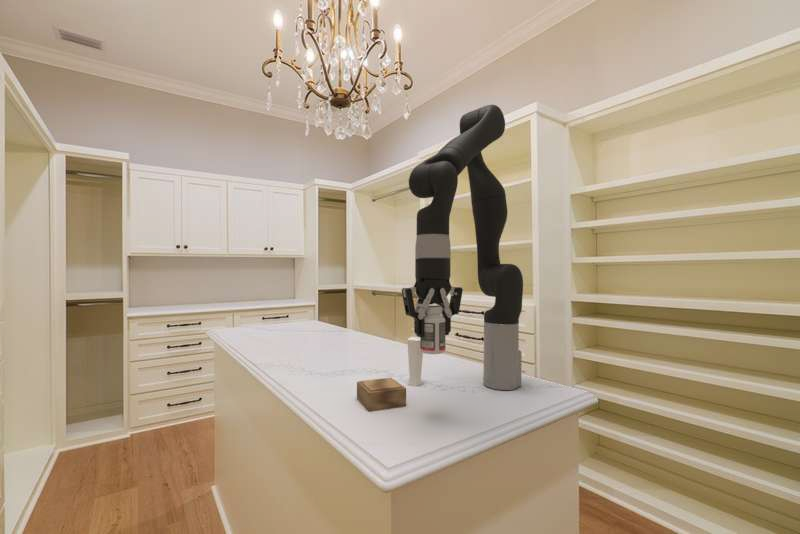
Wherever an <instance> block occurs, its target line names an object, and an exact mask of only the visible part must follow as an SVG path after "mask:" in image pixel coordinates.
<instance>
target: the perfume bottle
mask: <svg viewBox="0 0 800 534" xmlns="http://www.w3.org/2000/svg"><path fill="white" fill-rule="evenodd" d="M411 330H412V331H411V336H410V337H409V338H407V351H408V352H407V354H408V355H407V356H408V373H409V375H408V377H409V378H408V384H407V385H410V386H415V387H417V386H420V385H421V386H422V385H423V382H422V368H423V356H424V353H422V352H421V350H420V337H418V336H417V335H416V334H415V332H414V328H411Z"/></svg>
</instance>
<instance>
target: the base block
mask: <svg viewBox="0 0 800 534" xmlns="http://www.w3.org/2000/svg"><path fill="white" fill-rule="evenodd" d="M356 400H358V401H359V403H360V404H361V405H362V406H363V407H364V408H365V409H366V410H367V411H368V412H373V411H380V410H386V409H388V410H389V409H394V408H395V409H396V408H402V407H406V406H407V388H406V387H405V386H404V385H402V384H401V383H399V382H398V381H397V380H395V379H394V378H392V377H385V378H375V379H374V378H373V379H366V380H360V381H357V382H356Z"/></svg>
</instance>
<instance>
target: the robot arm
mask: <svg viewBox="0 0 800 534" xmlns="http://www.w3.org/2000/svg"><path fill="white" fill-rule="evenodd" d="M460 117H461V118H460V120H459V133H460V134H458V135H457V136H455V137H454V138H453V139H451V140H450V141H448V142H447V143H446V144H445V145H444V146H443V147H442V148H441V149H440V150H439V151H438V152H437V153H436V154H434V155H432V156H430V157H428V158H427V159H425V160H423V161H422V162H420V163H419V164H417V165H416V166H414V168H413V169H412V171H411V172H410V175H409V178H408V187H409V190H410V192H411V193H412V195H414V196H415V197H417V198H420V199H429V198H432V200H431V203H429V205H427V206H425V207H423V208H420V209H419V210H418V211H417V213H416V239H415V240H416V241H415V246H414V247H415V249H414V253H415V254H414V256H415V258H414V259H415V262H414V263H415V265H414V267H415V269H414V273H415V274H414V275H415V282H414V285H413V286H411V287H403V288H402V289H401V295H402V301H403V306H404V312H405V315H406V316H408V317H411V318H413V320H414V321H413V322H414V328H413V329H414V332H415V334H416V335H417V336H418V337H424V320H423V317H424V315H425V311H426V310H427V309H428V306H430V305H436V306H442V313H441V316H443V317H444V318H445V336H449V335H450V333H451V331H452V327H451V326H452V322H451V321H452V317H453V316H455V315H459V313H460V308H461V303H462V296H463V288H462V287H461V286H460V287H459V286H452V285H451V282H450V279H451V240H450V216H451V212H452V208H453V203H454V200H455V196H456V192H457V189H458V183H459V177H458V176H459V175H460V174H461V173H462V172H463V171H464V170H465V168H467V175H468V181H469V190H470V199H471V200H470V203H471V208H472V215H473V217H472V218H473V223H474V231H475V232H474V233H475V242H476V254H477V257H476V258H477V259H476V260H477V281H478V285H479V289H480V291H481V292H482V293H483V294H484V295H485V296H488V297H494V298H495V300H494V305H493V306H492V307H491V308H489V309H487V310H486V311H484V312H483V375H482V377H483V379H482V380H483V385H484V386H485V387H487V388H490V389H494V390H500V391H513V390H516V389H518V388H519V387H522V358H523V357H522V351H521V350H519V348H520V345H519V344H520V342H519V337H520V335H519V334H520V333H519V332H520V331H519V330H520V329H519V328H520V326H519V325H520V323H519V322H520V316H521V313H522V311H523V310H522V309H523V297H524V296H523V295H524V294H523V293H524V279H523V278H524V277H523V273H522V270H521V268H519V267H518V266H517V265H515V264H513V263H501V259H500V241H501V237H502V236H503V232H504V229H505V226H506V223H507V220H508V204H507V196H506V191H505V188H504V186H503V185H502V183H501V181H500V180H499V179H498V178H497V177H496V176H495V175H494V173H492V171H491V170H490V169H489V168H488V166H487V164H486V163H485V160H484V157H483V155H482V151H483V150H485V149H486V148H488V147H489V146H490V145H491V144H492V143H494V142H496V141H497V140H498V139H500V138H501V137H502V136H503V134H504V132H505V129H506V119H505V116H504V114H503V111H502V109H501V108H500V107H499V106H498V105H495V104H487V105H484V106H482V107H479V108H476V109H474V110H470V111H467V113H464V114H463V115H462V116H460ZM415 294H416V296H417V300H416V303H414V297H415ZM449 295H450V300H449V299H448V296H449Z"/></svg>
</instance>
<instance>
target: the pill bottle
mask: <svg viewBox="0 0 800 534" xmlns="http://www.w3.org/2000/svg"><path fill="white" fill-rule="evenodd" d="M441 313H442V306H437V305H429V306H428V309H427V310H426V311H425V314H424V317H423V320H424V337H420V350H421V352H422V353H423V354H427V355H441V354H443V353H445V352H446V335H445V318H444V317H443V316H442V314H441Z"/></svg>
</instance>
